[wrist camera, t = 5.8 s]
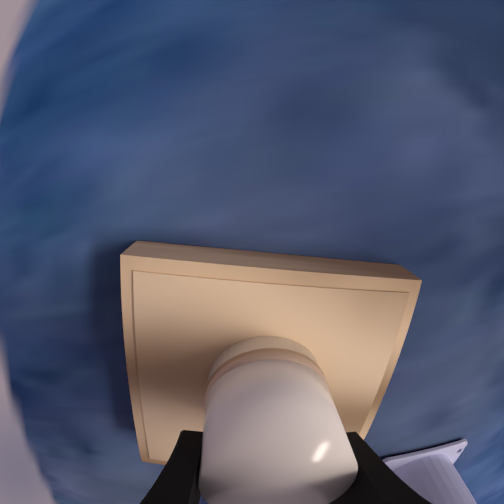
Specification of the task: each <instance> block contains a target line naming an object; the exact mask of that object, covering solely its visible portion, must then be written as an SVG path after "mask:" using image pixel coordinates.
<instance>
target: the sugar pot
mask: <svg viewBox="0 0 504 504" xmlns="http://www.w3.org/2000/svg"><path fill="white" fill-rule="evenodd" d="M204 411H205V414H204V425H203V437H202V449H201V459H200V471H199V491H200V493H201V495H202V497H203V498H204V499H205V500H206V501H207V502H208V503H209V504H329V503H330V502H332V501H334V500H335V499H337V498H338V497H340V496H341V495H342V494H343V493H344V492H345V491H346V490H347V489H348V488H349V487H350V486H351V485H352V483H353V482H354V480H355V478H356V476H357V473H358V465H357V461H356V458H355V456H354V453H353V450H352V448H351V445H350V443H349V440H348V437H347V435H346V432H345V430H344V427H343V424H342V422H341V419H340V417H339V414H338V412H337V409H336V406H335V404H334V401H333V399H332V396H331V391H330V387H329V385H328V382H327V380H326V377H325V375H324V373H323V371H322V370H321V368H320V366H319V364H318V361H317V359H316V358H315V356H314V355H313V353H312V352H311V351H310V350H309V349H307V348H306V347H305V346H304V345H302V344H300V343H298V342H296V341H294V340H291V339H288V338H284V337H278V336H259V337H253V338H249V339H246V340H243V341H240V342H238V343H236V344H234V345H232V346H230V347H229V348H227V349H226V350H225V351H223V352H222V353H221V354H220V355H219V356H218V357H217V359H216V360H215V361H214V363H213V365H212V366H211V369H210V372H209V376H208V384H207V386H206V391H205V400H204Z"/></svg>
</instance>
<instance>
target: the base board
mask: <svg viewBox="0 0 504 504" xmlns="http://www.w3.org/2000/svg"><path fill="white" fill-rule="evenodd" d="M120 270H121V300H122V318H123V333H124V345H125V355H126V365H127V374H128V382H129V390H130V397H131V404H132V411H133V417H134V423H135V429H136V435H137V440H138V446H139V451H140V456H141V461H144V462H149V463H155V464H162V465H166V463H167V462H168V460H169V458H170V456H171V454H172V452H173V450H174V447H175V445H176V443H177V440H178V438H179V434H180V432H181V431H183V430H190V431H200V432H203V425H204V414H205V411H204V400H205V391H206V386H207V384H208V376H209V372H210V369H211V366H212V365H213V363H214V361H215V360H216V359H217V357H218V356H219V355H220V354H221V353H222V352H223V351H225V350H226V349H227V348H229V347H230V346H232V345H234V344H236V343H238V342H240V341H243V340H246V339H249V338H253V337H259V336H278V337H284V338H288V339H291V340H294V341H296V342H298V343H300V344H302V345H304V346H305V347H306V348H307V349H309V350H310V351H311V352H312V353H313V355H314V356H315V358H316V359H317V361H318V364H319V366H320V368H321V370H322V371H323V373H324V375H325V377H326V380H327V382H328V385H329V387H330V391H331V396H332V399H333V401H334V404H335V406H336V409H337V412H338V414H339V417H340V419H341V422H342V424H343V427H344V430H345V432H355V431H356V432H357V433H358V434H359V436H360V437H361V438H362V439H363V440H364V439H365V436H366V434H367V432H368V430H369V428H370V426H371V424H372V421H373V419H374V417H375V415H376V413H377V410H378V408H379V406H380V403H381V401H382V399H383V396H384V394H385V391H386V389H387V386H388V384H389V381H390V379H391V376H392V373H393V371H394V368H395V366H396V363H397V360H398V357H399V354H400V352H401V349H402V346H403V343H404V340H405V337H406V334H407V331H408V328H409V324H410V321H411V318H412V315H413V311H414V308H415V304H416V301H417V297H418V294H419V290H420V286H421V282H422V280H421V279H419V278H418V277H416V276H415V275H413V274H412V273H411V272H409V271H408V270H406V269H405V268H403V267H402V266H400V265H396V264H386V263H375V262H364V261H353V260H343V259H332V258H321V257H310V256H299V255H288V254H278V253H267V252H256V251H245V250H234V249H223V248H212V247H201V246H191V245H180V244H169V243H158V242H147V241H136V242H135V243H133V244H132V245H131V246H130V247H129V248H127V249H126V250H125V251H124V252H123V253H122V254H120Z"/></svg>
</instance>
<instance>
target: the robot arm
mask: <svg viewBox="0 0 504 504" xmlns="http://www.w3.org/2000/svg"><path fill="white" fill-rule="evenodd" d="M346 435H347V437H348V440H349V443H350V445H351V448H352V450H353V453H354V456H355V458H356V461H357V465H358V473H357V476H356V478H355V480H354V482H353V483H352V485H351V486H350V487H349V488H348V489H347V490H346V491H345V492H344V493H343V494H342V495H341V496H340V497H338V498H337V499H335V500H334V501H332V502H331V503H332V504H477V503H476V502H475V500H474V498H473V496H472V495H471V493H470V491H469V490H468V488H467V486H466V485H465V483H464V482H463V480H462V478H461V477H460V475H459V473H458V472H457V470H456V469H455V467H454V465H453V464H454V462H455V461H456V459H457V458H458V457H459V455H460V454H461V452H462V451H463V450H464V448H465V447H466V445H467V441H466V439H462V440H459V441H456V442H452V443H449V444H445V445H441V446H438V447H434V448H430V449H426V450H421V451H417V452H412V453H408V454H403V455H398V456H393V457H388V458H385V459H383V460H381V459H380V458H379V456H378V455H377V454H376V453H375V452H374V451H373V450H372V449H371V448H370V447H369V446H368V444H367V443H366V442H365V441H364V440H363V439H362V438H361V437H360V436H359V434H358V433H357V432H356V431H355V432H346ZM202 437H203V432H200V431H190V430H183V431H181V432H180V434H179V438H178V440H177V443H176V445H175V447H174V450H173V452H172V454H171V456H170V458H169V460H168V462H167V463H166V465H165V467H164V468H163V470H162V472H161V474H160V475H159V477H158V479H157V480H156V482H155V483H154V485H153V486H152V488H151V489H150V490H149V492H148V493H147V495H146V496H145V498H144V499H143V500H142V502H141V503H140V504H199V500H200V494H201V493H200V491H199V471H200V459H201V449H202Z"/></svg>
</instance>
